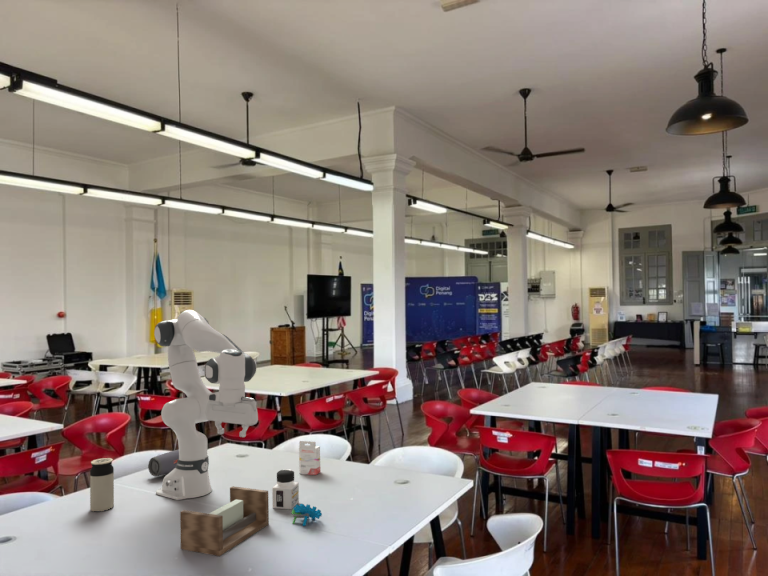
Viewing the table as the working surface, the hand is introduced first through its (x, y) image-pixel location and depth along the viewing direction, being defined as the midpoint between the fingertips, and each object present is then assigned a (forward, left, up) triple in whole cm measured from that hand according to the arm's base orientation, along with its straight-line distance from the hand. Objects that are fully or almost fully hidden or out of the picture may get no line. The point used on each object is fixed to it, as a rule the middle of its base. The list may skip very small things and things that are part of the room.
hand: (231, 435), depth 195 cm
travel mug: (-56, -5, -31) cm, 64 cm away
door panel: (+5, -10, -29) cm, 31 cm away
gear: (+25, +9, -31) cm, 40 cm away
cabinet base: (+6, -10, -30) cm, 32 cm away
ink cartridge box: (-3, +60, -31) cm, 67 cm away
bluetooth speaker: (-63, +41, -31) cm, 82 cm away
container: (+9, +21, -31) cm, 38 cm away
